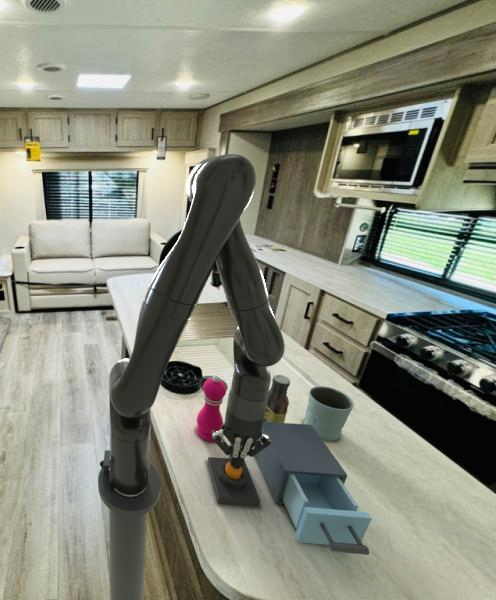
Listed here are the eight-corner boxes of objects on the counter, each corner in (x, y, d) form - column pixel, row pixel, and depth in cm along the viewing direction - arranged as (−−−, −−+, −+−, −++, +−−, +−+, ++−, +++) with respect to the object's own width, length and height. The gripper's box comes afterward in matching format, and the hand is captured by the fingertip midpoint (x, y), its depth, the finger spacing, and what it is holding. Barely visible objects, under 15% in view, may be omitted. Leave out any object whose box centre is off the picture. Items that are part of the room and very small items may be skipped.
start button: (227, 479, 74) (228, 473, 73) (223, 465, 77) (224, 460, 76) (243, 480, 73) (244, 474, 72) (238, 467, 76) (239, 461, 76)
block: (217, 503, 72) (219, 491, 70) (207, 463, 82) (208, 451, 80) (258, 507, 71) (261, 495, 69) (242, 465, 81) (245, 454, 79)
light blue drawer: (375, 576, 58) (391, 545, 54) (309, 568, 59) (321, 539, 56) (320, 485, 74) (330, 458, 71) (270, 481, 76) (277, 454, 72)
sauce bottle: (254, 424, 94) (266, 368, 87) (277, 428, 92) (291, 372, 85) (257, 440, 88) (270, 382, 81) (281, 445, 86) (297, 387, 79)
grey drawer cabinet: (334, 508, 70) (347, 475, 66) (275, 503, 71) (285, 470, 67) (302, 455, 83) (311, 424, 80) (253, 451, 85) (259, 421, 81)
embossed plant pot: (342, 427, 92) (353, 394, 88) (342, 449, 85) (354, 415, 80) (302, 413, 98) (311, 381, 94) (298, 433, 90) (308, 400, 86)
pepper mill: (196, 441, 89) (204, 383, 81) (194, 422, 95) (200, 367, 88) (223, 444, 87) (233, 385, 80) (218, 425, 94) (227, 369, 87)
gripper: (270, 397, 70) (258, 454, 77) (210, 394, 72) (203, 450, 78) (285, 421, 64) (270, 482, 70) (218, 418, 65) (210, 477, 71)
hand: (235, 465), depth 74 cm, fingers closed
